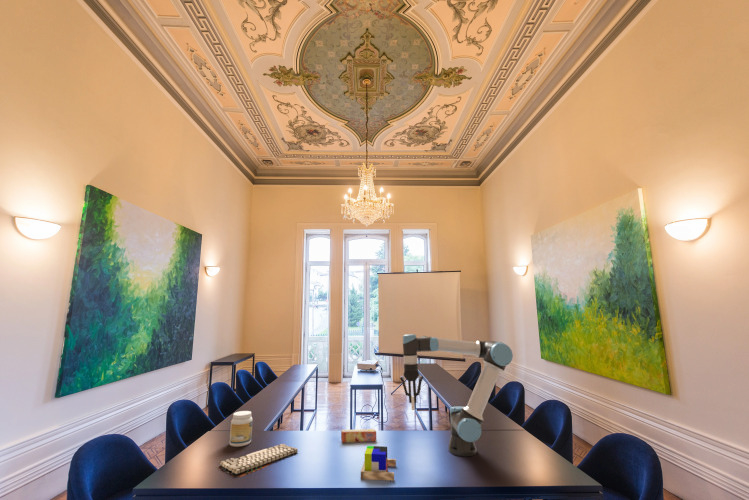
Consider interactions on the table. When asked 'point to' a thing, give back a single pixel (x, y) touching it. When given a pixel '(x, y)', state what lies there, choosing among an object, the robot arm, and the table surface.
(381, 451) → the puzzle toy
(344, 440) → the snack package
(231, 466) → the mechanical keyboard
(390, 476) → the wooden open frame
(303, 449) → the table surface
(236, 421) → the supplement tub
